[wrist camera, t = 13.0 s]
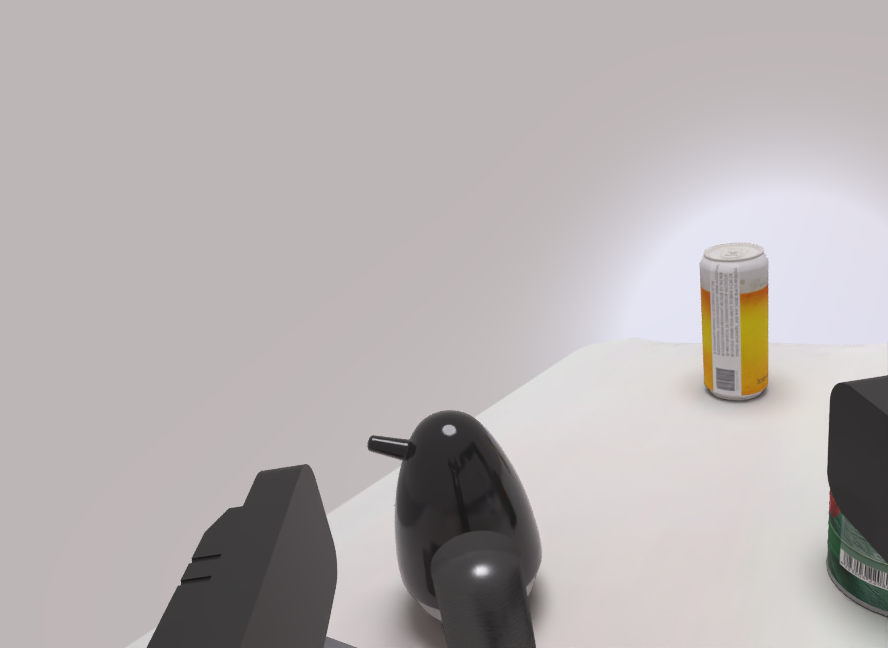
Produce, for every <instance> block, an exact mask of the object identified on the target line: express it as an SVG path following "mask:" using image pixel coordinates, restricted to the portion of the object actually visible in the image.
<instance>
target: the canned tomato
mask: <svg viewBox="0 0 888 648" xmlns="http://www.w3.org/2000/svg"><path fill="white" fill-rule="evenodd" d="M829 494H830V501H829V521H828V524H829V529H828V555H827V560H826V563H827V571H828V573H829V575H830V577H831V579H832V581H833V582H834V583H835V585H836V586H837V587H838V588H839V589H840V590H841V591H842V592H843V593H844V594H845V595H846V596H848V597H849V598H851V599H852V600H853V601H855V602H856V603H858V604H860V605H862V606H864V607H865V608H867V609H869V610H872V611H874V612H877V613H879V614H882V615H885V616H888V564H887V563H886V562H885V561H884V559H883V558H882V557H881V556H880V555H879V554H878V553H877V552H876V551H875V549H874V548H873V547H872V546H871V545H870V544H869V543H868V542H867V541H866V539H865V538H864V537H863V536H862V535H861V534H860V533H859V532H858V531H857V529H856V528H855V527H854V526H853V525H852V524H851V523H850V522H849V521H848V519H847V518H846V517H845V516H844V515H843V514H842V512H841V511H840V509H839V508H838V506H837V504H836V502H835V500H834V498H833V496H832V493H831V490H830V493H829Z"/></svg>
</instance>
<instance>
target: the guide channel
mask: <svg viewBox="0 0 888 648" xmlns="http://www.w3.org/2000/svg"><path fill="white" fill-rule="evenodd" d="M324 648H356V647H353V646H351V645H348V644H345V643H342V642H340V641H337V640H334V639H332V638H329V637H326V639H325V644H324Z"/></svg>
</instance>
